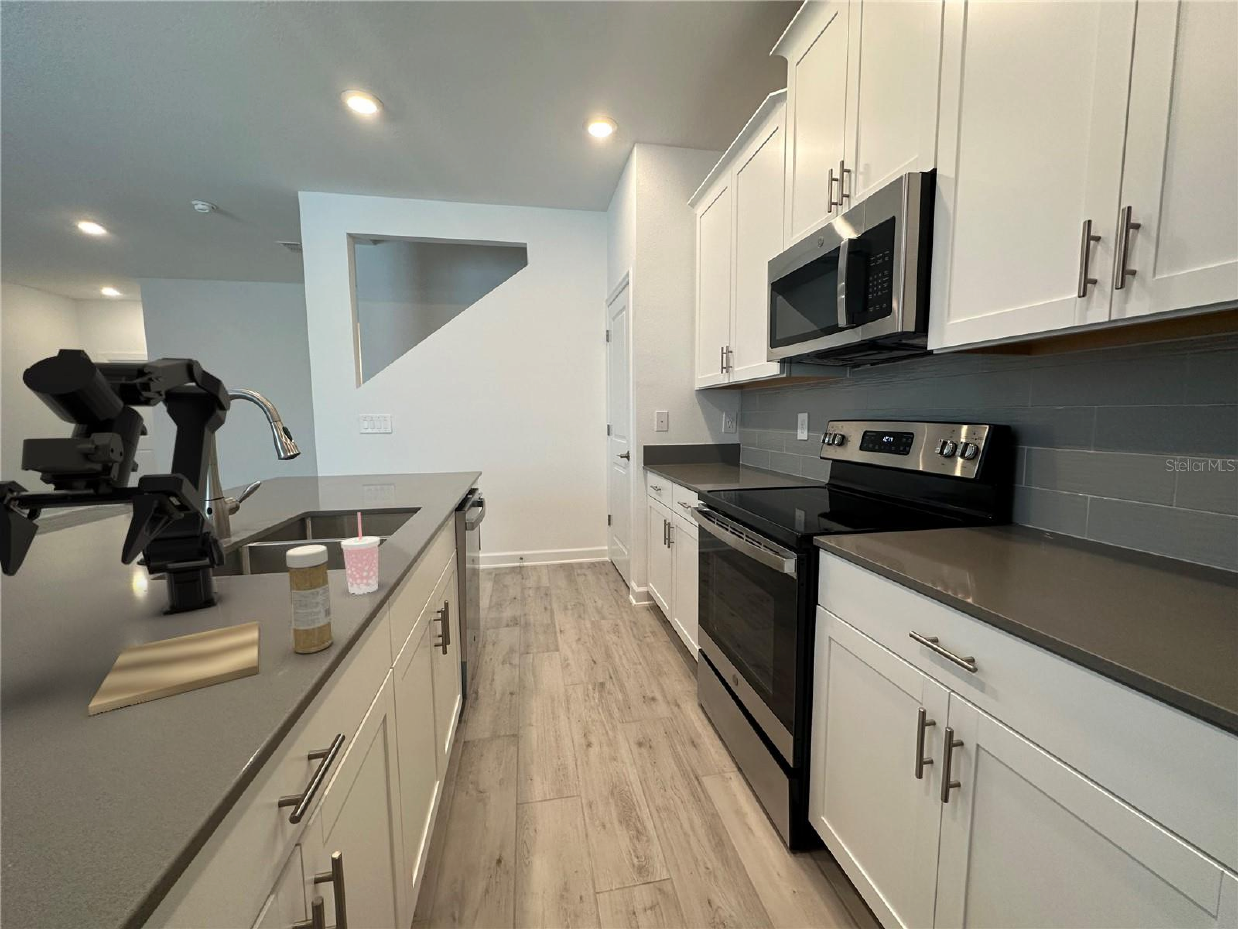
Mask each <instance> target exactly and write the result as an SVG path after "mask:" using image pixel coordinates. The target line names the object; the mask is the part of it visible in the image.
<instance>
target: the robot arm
mask: <svg viewBox="0 0 1238 929" xmlns="http://www.w3.org/2000/svg"><path fill="white" fill-rule="evenodd" d="M22 381H23V384H25V386H26V387H27V388H28V389H29V390H30V391H31V392H32V393H33V394H34V395H35V396H36V397H37V398H38V400H40V401H41V402H42V404H45V406H46V407H47V408H48V409H49V410H50V411H52V412H53V413H54V415H55V416H56V417H57V418H58V419H59V420H61V421H64V423H69V424H72V425H74V426H73V429H72V432H71V435H70V437H56V438H55V437H50V438H45V437H44V438H43V437H42V438H25V439H23V440H22V453H21V464H20V465H21V466H20V470H21V471H25V472H29V471H33V472H37V473H40V476H39V480H40V481H41V482H42V483H44V484H45V485H53V486H54V487H53V490H42V491H41V490H39V491H29V490H28V489H27V488H25V487H24V486H23V485H21V484H20V483H18V482H17V481H16V480H0V568H1V572H2V574H3V575H5V576H7V577H13V576H16V574H17V572H18V571H19V570H20V568H21V566H22V565H23V563H24V561H25V558H26V556H27V553H28V552H29V550H30V547H31V545H32V543H33V541H34V539H35V536H36V534H37V532H38V530H39V527H40V526H39V525H38V524H36V523H35V522H34V521H35V520H38V519H39V518H40V516H41V514H42V510H43V509H44V510H45V509H61V508H75V507H76V508H78V507H95V506H111V505H112V506H113V505H128V504H129V505H130V504H132V517H131V520H130V523H129V526H128V530H127V534H126V536H125V540H124V543H123V545H122V551H121V559H120V562H121V563H122V564H123V565H124V566H126V565H128V566H129V565H131V564H132V563H133V562H134V560H135V559H136V558H137V557H138V556H139V555H140V554H142V557H143V560H144V563H145V567H146V569H147V572H148V575H149V576H153V575H154V576H155V575H157V574H165V585H166V592H167V601H166V604H165V605H164V607H163V608H162V614H163V615H166V614H172V613H179V612H184V611H189V610H195V609H199V608H206V607H211V606H216V605H217V602H218V599H219V595H220V594H219V591H214V581H213V569H217V568H218V567H221V566H225V565H226V564H227V563H226V555H227V554H226V549H225V546H224V545H223V543H222V542H221V540H220V539H219V537H218V535H217V533H216V532H215V526H214V524H213V523H212V521H211V520H210V518H209V517H208V516H207V514H206V513H205V501H206V495H207V486H208V485H207V484H208V475H209V465H210V456H211V449H212V438H213V435H214V434H215V433H216V432H217V431H218V430H219V429H220V428H221V427H222V426H224V424H225V423H226V419H227V415H228V414H227V413H228V412H230V409H231V404H232V403H231V396H230V394H229V392H228V390H227V388H226V386H225V385H224V383H223V381H222V380H221V379H220V378H218V377H217V376H215V375H213V374H211V373H210V372H209V371H207V370H206V369H205V370H204V368H203V367H202V365H201V363H200V362H199V360H196V359H193V358H190V357H189V358H186V357H162V358H158V359H156V360H153V361H146V362H143V363H142V362H141V363H139V362H137V363H136V362H135V363H134V362H133V363H131V362H129V363H128V362H103V361H102V362H101V361H99V362H97V361H95V362H93V361H92V359H91V358H90V356H89V354H87V352H86V351H85V350H84V349H76V348H75V349H73V348H60V349H59V350H58V352H57V355H53V356H49V357H46V358H44V359H41V360H38V361H37V362H35V363H34V364H31V365H30V367H28V368H25V370H24V371H23V373H22ZM161 402H162V404H163V405H164V407H165V408H166V413H167V415H168V416H169V417H170V419H171V420H172V422H173V423H174V424H175V426H176V432H175V438H174V439H175V440H174V445H173V446H174V448H173V454H172V462H171V467H170V468H171V470H170V473H160V474H159V473H156V474H154V473H153V474H144V475H142V476H140V477H139V478H138V482H137V486H128V485H129V482H130V477H131V473H137V472H138V470H139V466H140V465H139V463H138V462H137V461H136V460H135V458H136V454H137V449H138V445H139V443H140V442H139V441H140V438H141V436H142V437H145V436H148V430H147V426H146V425H145V424H144V422H145V419H144V417H143V416H142V415H141V413H140V412H138V410H136V409H135V408H136V407H137V408H143V407H144V408H145V407H147V408H148V407H149V408H151V407H153V408H155V407H157V405H159V403H161ZM134 407H135V408H134Z"/></svg>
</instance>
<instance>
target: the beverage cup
mask: <svg viewBox="0 0 1238 929" xmlns="http://www.w3.org/2000/svg"><path fill="white" fill-rule="evenodd" d="M357 527H358V529H357V530H358V536H356V537H351V538H347V539H344V540H342V541H341V542H340V546H341V547H340V548H342V550H343V556H344V565H345V572H346V573H345V574H346V579H347V586H348V593H349V592H350V593H349V594H351V593H355V594H354V595H364V594H363V593H365V594H368V593H367V592H370V593H372V592H375V591H377V590H378V589H379V585H378V584H379V545H380V542H381V539H380V537H379V536H375V535H374V536H372V535H371V536H370V535H369V536H368V535H367V536H363V535H362V534H363V532H362V530H363V529H362V516H361V511H360V512H358V511H357Z"/></svg>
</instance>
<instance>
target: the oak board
mask: <svg viewBox="0 0 1238 929" xmlns="http://www.w3.org/2000/svg"><path fill="white" fill-rule="evenodd" d="M259 637H260V624H259V620H256V621H252V622H247V623H241V624H237V625H232V626H228V627H227V626H226V627H224V628H217V629H213V630H208V631H203V632H197V633H194V634H192V633H191V634H187V635H183V636H178V637H174V638H168V639H164V640H163V639H162V640H158V641H153V642H148V643H145V644H144V643H143V644H138V645H133V646H129V647H128V646H127V647H125V648H123V650H122V651H121V652H120V654H119V656H118V658H117V660H116V661H115V663H114V664H113V666H112V667H111V669H110V671H109V673H108V674H107V676H106V678H105V679H104V680H103V682H102V684H101V686H100V687H99V689H97V691H96V694H95V696H94V697H93V699H92V700H91V702H90V704H89V705H88V714H89V715H91V716H94V715H93V714H95V715H98V714H97V713H99V714H101V713H100V712H103V713H106V712H105V711H107V712H110V710H111V711H113V710H112V709H115V708H119V709H121V708H120V707H123V708H125V707H124V706H127V705H131V706H134V704H135V705H137V703H139V704H142V703H145V701H146V702H150V701H153V700H157V699H161V698H165V697H170V696H173V695H177V694H182V693H186V692H190V691H194V690H197V689H201V688H205V687H209V686H213V685H217V684H220V683H225V682H230V681H233V680H236V679H242V678H245V677H248V676H253V675H257V674H259V645H260V644H259V639H260V638H259ZM141 702H142V703H141ZM127 707H128V706H127ZM115 710H116V709H115ZM89 715H88V716H89Z"/></svg>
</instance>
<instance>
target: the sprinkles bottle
mask: <svg viewBox="0 0 1238 929" xmlns="http://www.w3.org/2000/svg"><path fill="white" fill-rule="evenodd" d="M285 555H286V558H285V559H286V561H285V562H286V566H287V567H288V568H287V569H288V574H289V590H290V591H289V594H290V611H291V612H290V613H291V626H292V627H293V628H292V630H293V640H294V642H293V643H294V645H293V650H294V651H295V652H296V653H299V654H309V653H311V654H312V653H315V652H319V651H322V650H324V649H327V648H328V647H329V646H331V645H332V644H333V642H334V639H333V636H332V634H333V633H332V632H333V631H332V622H331V621H332V612H331V611H332V610H331V595H330V583H329V575H328V565H327V564H328V560H329V558H328V557H329V556H328V555H329V554H328V548H327V546H325V545H323V544H322V545H321V544H311V545H309V544H308V545H303V546H297V547H294V548H291V549H289V550H288V551H286V553H285Z"/></svg>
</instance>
